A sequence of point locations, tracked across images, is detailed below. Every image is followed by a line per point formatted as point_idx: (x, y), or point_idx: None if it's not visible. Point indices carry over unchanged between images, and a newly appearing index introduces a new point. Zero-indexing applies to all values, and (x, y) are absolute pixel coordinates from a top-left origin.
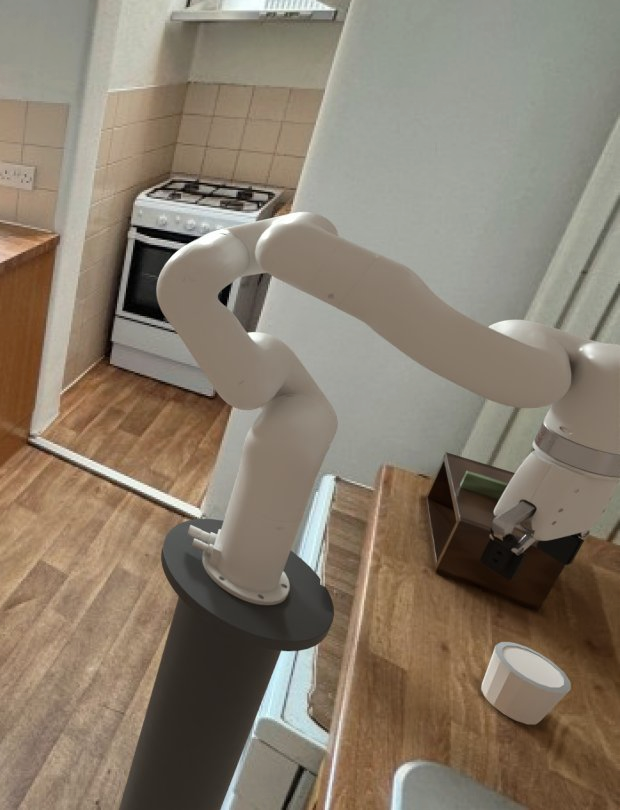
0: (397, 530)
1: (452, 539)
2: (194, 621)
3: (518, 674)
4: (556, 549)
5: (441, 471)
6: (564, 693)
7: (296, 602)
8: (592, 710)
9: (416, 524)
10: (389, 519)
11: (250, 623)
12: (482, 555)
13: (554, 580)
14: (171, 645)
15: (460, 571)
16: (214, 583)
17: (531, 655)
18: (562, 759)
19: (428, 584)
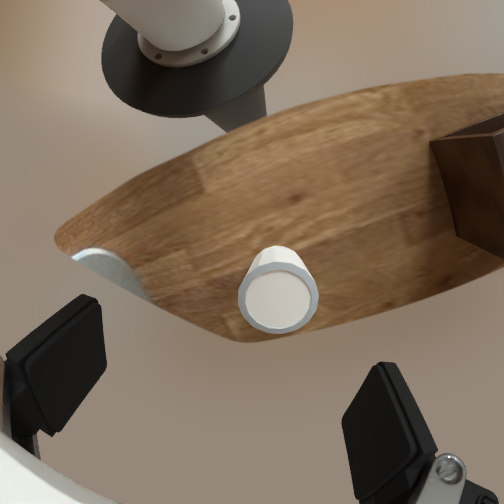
0: (456, 90)
1: (467, 139)
2: None
3: (240, 297)
4: (361, 423)
5: None
6: (266, 332)
7: (203, 72)
8: (349, 312)
9: (483, 105)
10: (464, 79)
11: (122, 81)
12: (72, 302)
13: (488, 250)
14: None
15: (445, 162)
16: None
17: (302, 292)
18: None
19: (399, 142)
